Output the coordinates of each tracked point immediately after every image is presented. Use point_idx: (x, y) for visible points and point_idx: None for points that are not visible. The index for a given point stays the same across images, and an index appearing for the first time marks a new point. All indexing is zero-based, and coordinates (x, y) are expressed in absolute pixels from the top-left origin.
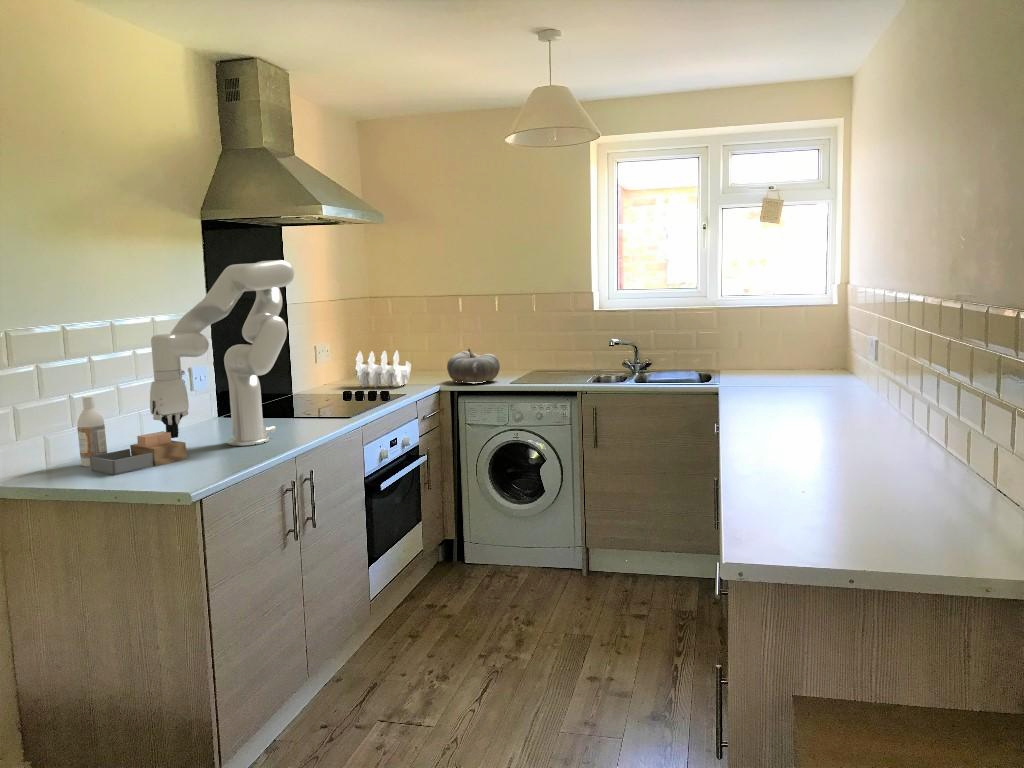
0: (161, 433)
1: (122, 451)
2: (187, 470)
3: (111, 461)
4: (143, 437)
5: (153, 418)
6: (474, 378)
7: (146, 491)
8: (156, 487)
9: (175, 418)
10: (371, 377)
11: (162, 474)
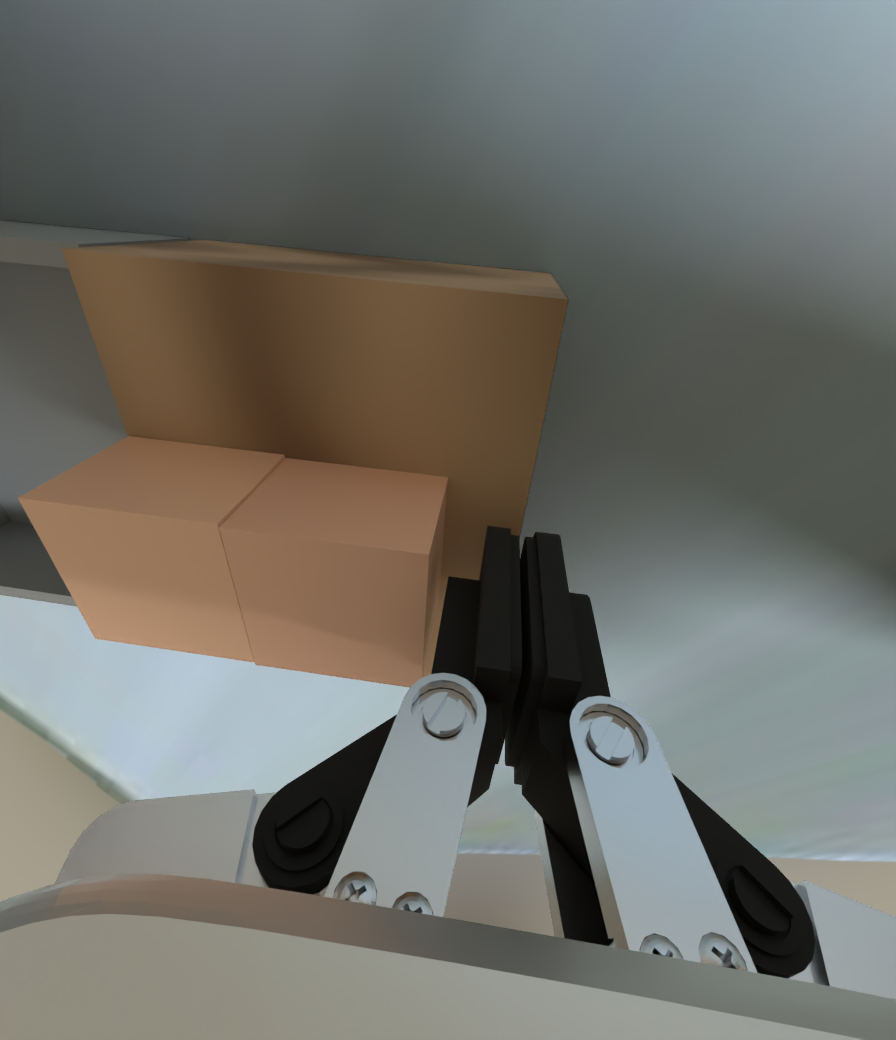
0: (321, 645)
1: (6, 257)
2: (323, 732)
3: None
4: (87, 612)
5: (85, 844)
6: None
7: (98, 774)
8: (136, 772)
9: (552, 885)
10: None
11: (218, 695)
